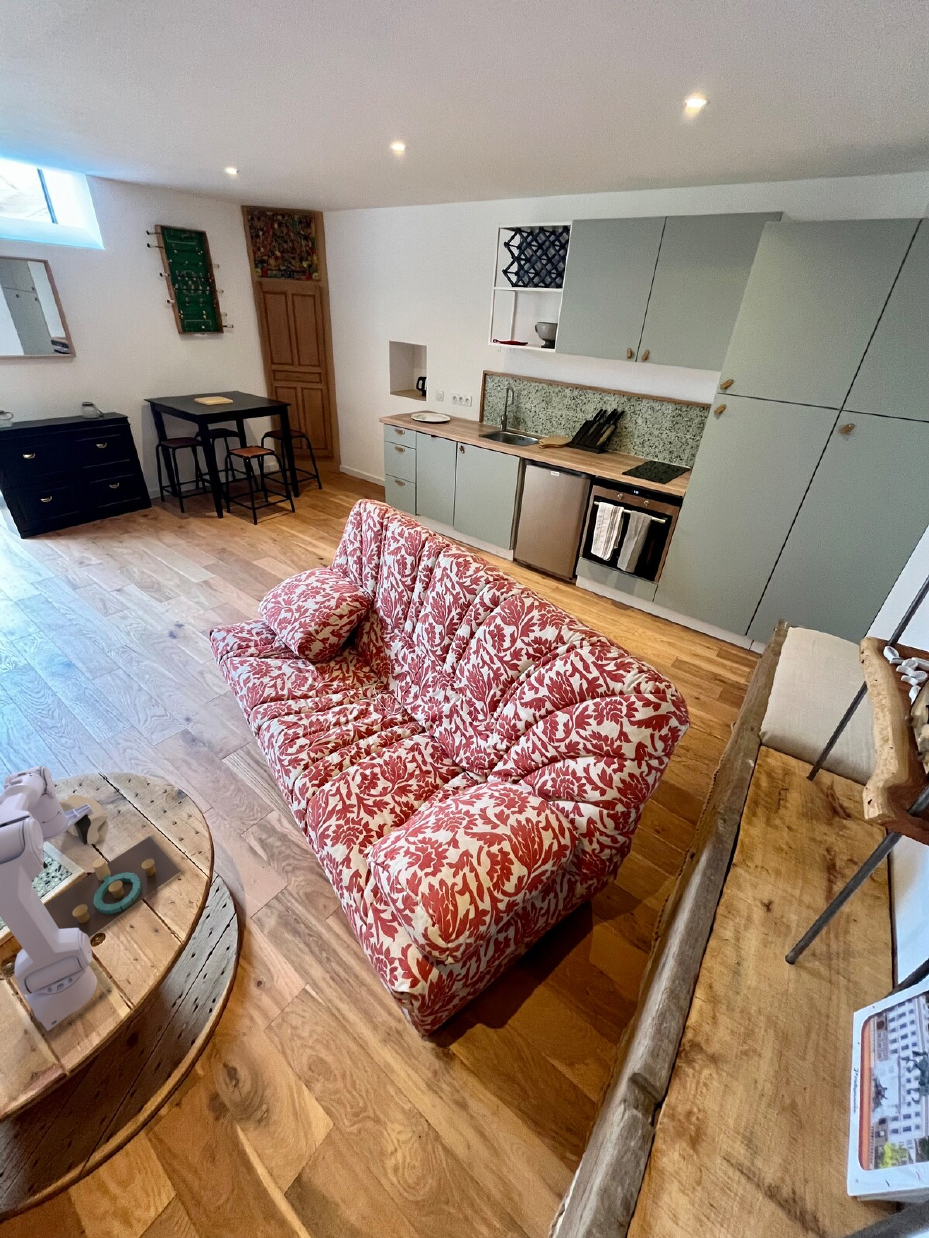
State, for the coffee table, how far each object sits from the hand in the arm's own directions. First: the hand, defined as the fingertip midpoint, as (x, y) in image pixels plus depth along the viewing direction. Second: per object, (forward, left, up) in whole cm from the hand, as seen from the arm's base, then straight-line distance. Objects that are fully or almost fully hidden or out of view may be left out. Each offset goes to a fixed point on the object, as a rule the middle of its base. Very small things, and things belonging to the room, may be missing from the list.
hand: (64, 853), depth 113 cm
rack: (+4, -10, -9) cm, 14 cm away
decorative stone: (+8, +14, -10) cm, 19 cm away
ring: (+4, -10, -8) cm, 14 cm away
